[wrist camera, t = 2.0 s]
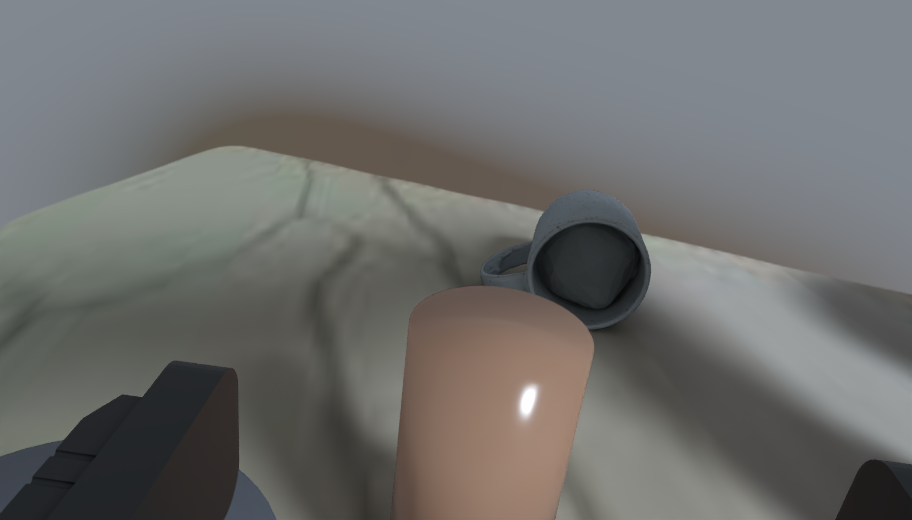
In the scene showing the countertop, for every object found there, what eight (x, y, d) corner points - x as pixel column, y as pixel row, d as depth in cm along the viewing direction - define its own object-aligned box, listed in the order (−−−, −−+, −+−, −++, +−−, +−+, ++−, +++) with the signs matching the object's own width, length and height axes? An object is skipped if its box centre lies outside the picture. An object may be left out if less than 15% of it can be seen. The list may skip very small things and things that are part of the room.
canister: (496, 531, 30) (543, 280, 25) (557, 650, 25) (630, 373, 20) (366, 558, 28) (387, 292, 23) (406, 693, 23) (444, 398, 18)
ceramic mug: (626, 281, 53) (647, 184, 50) (637, 339, 46) (663, 229, 42) (484, 262, 54) (495, 164, 50) (472, 316, 46) (485, 206, 43)
